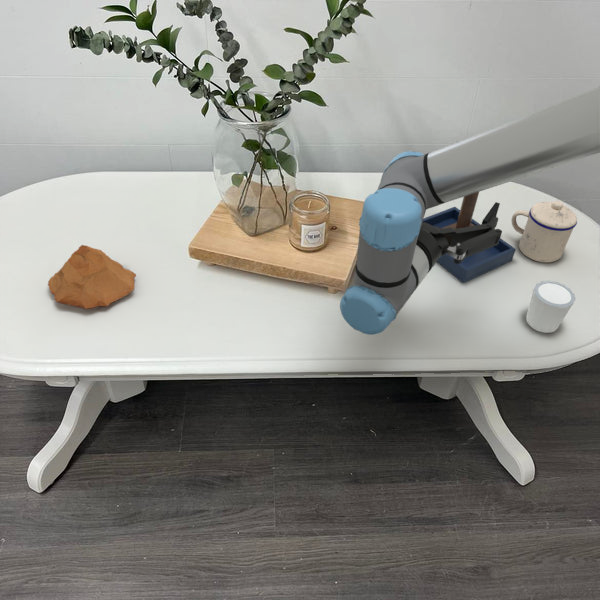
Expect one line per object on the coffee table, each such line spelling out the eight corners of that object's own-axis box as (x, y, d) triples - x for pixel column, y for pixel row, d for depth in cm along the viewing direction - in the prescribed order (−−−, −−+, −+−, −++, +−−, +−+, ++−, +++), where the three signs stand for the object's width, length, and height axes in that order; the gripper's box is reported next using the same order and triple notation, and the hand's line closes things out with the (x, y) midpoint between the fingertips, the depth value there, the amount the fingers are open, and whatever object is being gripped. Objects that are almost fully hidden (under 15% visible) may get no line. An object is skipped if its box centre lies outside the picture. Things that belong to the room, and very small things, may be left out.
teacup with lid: (568, 248, 120) (589, 201, 112) (554, 270, 115) (574, 222, 107) (513, 227, 125) (529, 180, 117) (497, 247, 120) (512, 199, 112)
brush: (479, 246, 118) (497, 187, 109) (453, 257, 116) (469, 197, 106) (461, 233, 122) (477, 174, 112) (436, 244, 119) (450, 184, 109)
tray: (512, 260, 117) (516, 249, 115) (463, 283, 111) (466, 271, 109) (452, 217, 127) (454, 206, 125) (404, 236, 122) (407, 224, 120)
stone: (43, 293, 109) (37, 241, 106) (119, 282, 117) (115, 234, 114) (64, 314, 98) (58, 257, 95) (146, 300, 106) (143, 247, 103)
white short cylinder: (534, 303, 107) (546, 274, 102) (568, 322, 104) (582, 293, 99) (515, 321, 104) (526, 292, 99) (550, 341, 100) (564, 312, 95)
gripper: (335, 250, 95) (392, 193, 108) (480, 308, 86) (522, 238, 99) (338, 212, 90) (397, 158, 103) (492, 269, 80) (535, 201, 94)
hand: (458, 197), depth 101 cm, fingers open, 13 cm apart
